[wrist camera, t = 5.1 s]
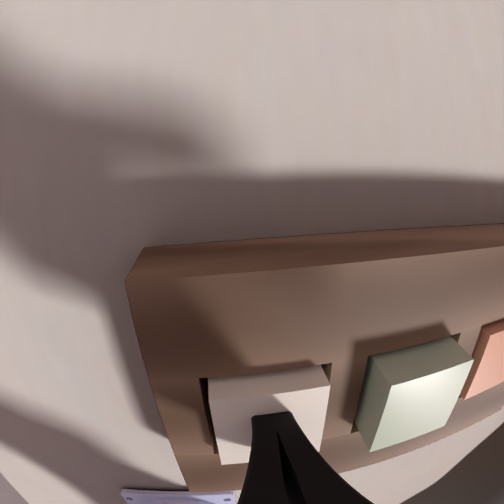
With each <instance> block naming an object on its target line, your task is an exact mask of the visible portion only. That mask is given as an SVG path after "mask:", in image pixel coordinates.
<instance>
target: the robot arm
mask: <svg viewBox="0 0 504 504" xmlns="http://www.w3.org/2000/svg"><path fill="white" fill-rule="evenodd" d="M251 422H252V443H251V451H250V457H249V463H248V468H247V472H246V476H245V480H244V484H243V488H242V491H241V494H240V498H239V501H238V503H237V504H373V503H372V502H371V501H369V500H368V499H366V498H365V497H364V496H362V495H361V494H360V493H359V492H357V491H356V490H355V489H354V488H353V487H351V486H350V485H349V484H348V483H347V482H346V481H345V480H344V479H343V478H342V477H341V476H340V475H339V474H337V473H336V471H335V470H334V469H333V468H332V467H331V466H330V465H329V464H328V463H327V462H326V461H325V460H324V458H323V457H322V456H321V455H320V454H319V452H318V451H317V450H316V449H315V447H314V446H313V445H312V444H311V442H310V441H309V440H308V438H307V437H306V435H305V434H304V432H303V431H302V429H301V428H300V426H299V425H298V423H297V421H296V420H295V418H294V416H293V414H292V413H291V412H290V411H285V412H278V413H271V414H263V415H254V416H253V417H252V418H251ZM121 496H122V497H123V498H124V500H125V501H126V502H127V503H128V504H236V502H235V497H234V493H233V491H231V490H230V491H215V492H190V491H148V490H132V489H122V490H121Z"/></svg>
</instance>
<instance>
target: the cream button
mask: <svg viewBox="0 0 504 504" xmlns="http://www.w3.org/2000/svg"><path fill="white" fill-rule="evenodd" d="M329 392H330V383H329V381H328V379H327V377H326V375H325V373H324V370H323V368H322V366H321V365H315V366H308V367H302V368H295V369H287V370H280V371H272V372H263V373H254V374H244V375H234V376H222V377H209V378H208V394H209V405H210V410H211V416H212V421H213V426H214V431H215V436H216V441H217V446H218V451H219V455H220V460H221V465H226V464H238V463H249V457H250V451H251V443H252V422H251V418H252V417H253V416H254V415H263V414H271V413H278V412H285V411H290V412H291V413H292V414H293V416H294V418H295V420H296V421H297V423H298V425H299V426H300V428H301V429H302V431H303V432H304V434H305V435H306V437H307V438H308V440H309V441H310V442H311V444H312V445H313V446H314V447H315V449H316V450H317V451H318V452H319V451H320V446H321V440H322V435H323V429H324V423H325V417H326V411H327V405H328V399H329Z"/></svg>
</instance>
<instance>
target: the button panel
mask: <svg viewBox="0 0 504 504" xmlns="http://www.w3.org/2000/svg"><path fill="white" fill-rule="evenodd" d="M125 286H126V291H127V295H128V300H129V305H130V309H131V313H132V318H133V322H134V326H135V330H136V334H137V338H138V342H139V346H140V350H141V353H142V357H143V361H144V364H145V368H146V371H147V375H148V378H149V381H150V385H151V388H152V391H153V394H154V398H155V401H156V404H157V407H158V410H159V413H160V416H161V419H162V422H163V425H164V427H165V430H166V433H167V436H168V439H169V441H170V444H171V447H172V449H173V452H174V455H175V457H176V460H177V462H178V465H179V467H180V470H181V472H182V475H183V477H184V480H185V482H186V484H187V487H188V489H189V491H190V492H215V491H230V490H242V488H243V484H244V480H245V476H246V472H247V468H248V463H238V464H226V465H221V460H220V455H219V451H218V446H217V441H216V436H215V431H214V426H213V421H212V416H211V410H210V405H209V394H208V381H207V378H209V377H222V376H234V375H244V374H254V373H263V372H272V371H280V370H287V369H295V368H302V367H308V366H315V365H321V366H322V368H323V370H324V373H325V375H326V377H327V379H328V381H329V383H330V392H329V399H328V405H327V411H326V417H325V423H324V429H323V435H322V440H321V446H320V451H319V454H320V455H321V456H322V457H323V458H324V460H325V461H326V462H327V463H328V464H329V465H330V466H331V467H332V468H333V469H334V470H335V471H336V473H337V474H338V473H342V472H346V471H350V470H354V469H357V468H361V467H364V466H368V465H371V464H375V463H378V462H381V461H384V460H387V459H390V458H393V457H396V456H399V455H402V454H405V453H408V452H410V451H413V450H416V449H418V448H421V447H423V446H426V445H428V444H431V443H433V442H436V441H438V440H440V439H443V438H445V437H447V436H450V435H452V434H454V433H456V432H458V431H460V430H463V429H465V428H467V427H469V426H471V425H473V424H475V423H477V422H479V421H481V420H483V419H484V418H486V417H488V416H490V415H492V414H494V413H496V412H497V411H499V410H501V408H502V407H503V405H504V381H503V382H501V383H500V384H498V385H496V386H494V387H492V388H489V389H487V390H485V391H483V392H481V393H479V394H477V395H475V396H472V397H470V398H468V399H466V400H464V399H463V398H462V397H461V396H460V395H459V397H458V399H457V402H456V404H455V406H454V408H453V410H452V412H451V414H450V416H449V418H448V420H447V422H446V424H445V426H443V427H441V428H438V429H436V430H433V431H431V432H428V433H426V434H423V435H420V436H418V437H415V438H412V439H409V440H407V441H404V442H401V443H398V444H395V445H392V446H389V447H385V448H382V449H379V450H376V451H372V452H369V451H368V449H367V447H366V445H365V442H364V440H363V438H362V436H361V434H360V432H359V430H358V428H357V426H356V424H355V422H354V418H355V414H356V410H357V406H358V401H359V397H360V393H361V389H362V384H363V379H364V375H365V370H366V365H367V360H368V356H370V355H374V354H379V353H384V352H388V351H392V350H397V349H401V348H405V347H409V346H413V345H417V344H421V343H425V342H429V341H433V340H436V339H440V338H444V337H447V336H451V337H452V338H453V339H454V340H455V341H456V342H457V343H458V344H459V345H460V346H461V347H462V348H463V349H464V350H465V351H466V352H467V353H468V354H469V355H470V356H471V357H472V354H473V351H474V348H475V345H476V343H477V340H478V337H479V334H480V330H481V327H482V326H483V325H486V324H489V323H492V322H495V321H498V320H501V319H504V224H486V225H467V226H449V227H431V228H414V229H397V230H381V231H365V232H350V233H335V234H320V235H305V236H291V237H277V238H263V239H250V240H236V241H223V242H210V243H198V244H185V245H173V246H161V247H149V248H144V249H143V250H142V252H141V254H140V255H139V257H138V259H137V261H136V262H135V264H134V266H133V267H132V269H131V271H130V273H129V274H128V276H127V278H126V280H125Z"/></svg>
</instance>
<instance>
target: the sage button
mask: <svg viewBox="0 0 504 504" xmlns="http://www.w3.org/2000/svg"><path fill="white" fill-rule="evenodd" d="M473 361H474V359H473V358H472V357H471V356H470V355H469V354H468V353H467V352H466V351H465V350H464V349H463V348H462V347H461V346H460V345H459V344H458V343H457V342H456V341H455V340H454V339H453V338H452V337H451V336H447V337H444V338H440V339H436V340H433V341H429V342H425V343H421V344H417V345H413V346H409V347H405V348H401V349H397V350H392V351H388V352H384V353H379V354H374V355H370V356H368V360H367V365H366V370H365V375H364V379H363V384H362V389H361V393H360V397H359V401H358V406H357V410H356V414H355V418H354V422H355V424H356V426H357V428H358V430H359V432H360V434H361V436H362V438H363V440H364V442H365V445H366V447H367V449H368V451H369V452H372V451H376V450H379V449H382V448H385V447H389V446H392V445H395V444H398V443H401V442H404V441H407V440H409V439H412V438H415V437H418V436H420V435H423V434H426V433H428V432H431V431H433V430H436V429H438V428H441V427H443V426H445V424H446V422H447V420H448V418H449V416H450V414H451V412H452V410H453V408H454V406H455V404H456V402H457V399H458V397H459V395H460V393H461V390H462V388H463V386H464V383H465V381H466V379H467V376H468V374H469V371H470V369H471V366H472V364H473Z"/></svg>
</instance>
